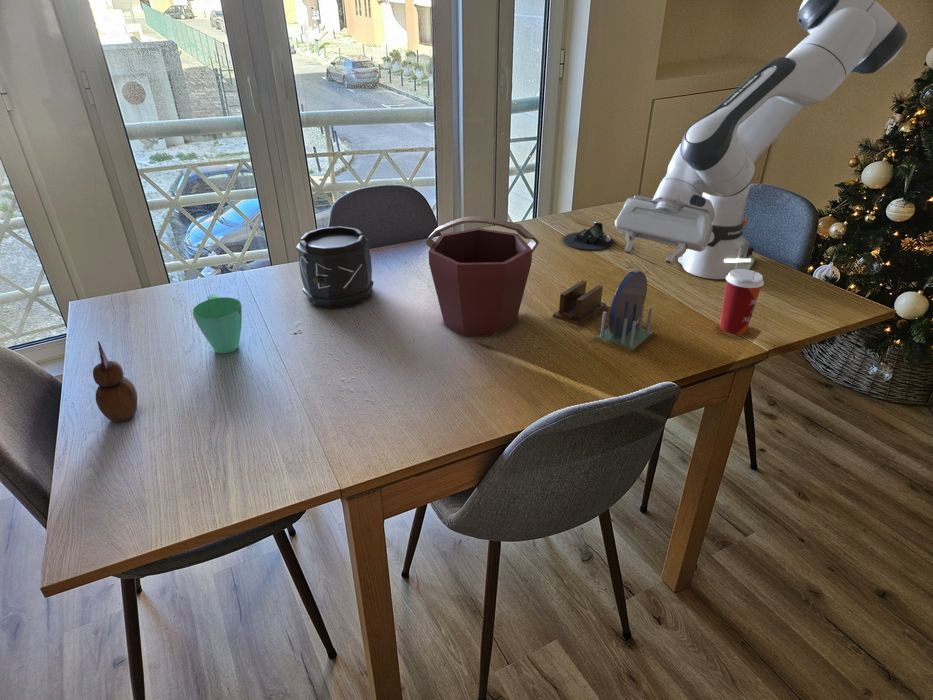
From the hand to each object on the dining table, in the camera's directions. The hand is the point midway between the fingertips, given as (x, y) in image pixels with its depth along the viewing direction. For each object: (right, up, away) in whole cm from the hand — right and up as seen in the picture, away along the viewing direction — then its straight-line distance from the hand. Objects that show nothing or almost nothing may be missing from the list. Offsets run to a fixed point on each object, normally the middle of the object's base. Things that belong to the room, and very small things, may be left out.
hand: (648, 258), depth 131 cm
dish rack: (-4, -17, +6) cm, 18 cm away
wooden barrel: (-72, -6, +27) cm, 77 cm away
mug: (-93, -18, +6) cm, 95 cm away
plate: (-4, -16, +5) cm, 17 cm away
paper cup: (+21, -16, +8) cm, 28 cm away
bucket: (-36, -13, +14) cm, 40 cm away
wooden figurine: (-103, -32, -17) cm, 109 cm away
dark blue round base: (-1, +14, +58) cm, 60 cm away
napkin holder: (-12, -11, +16) cm, 23 cm away
